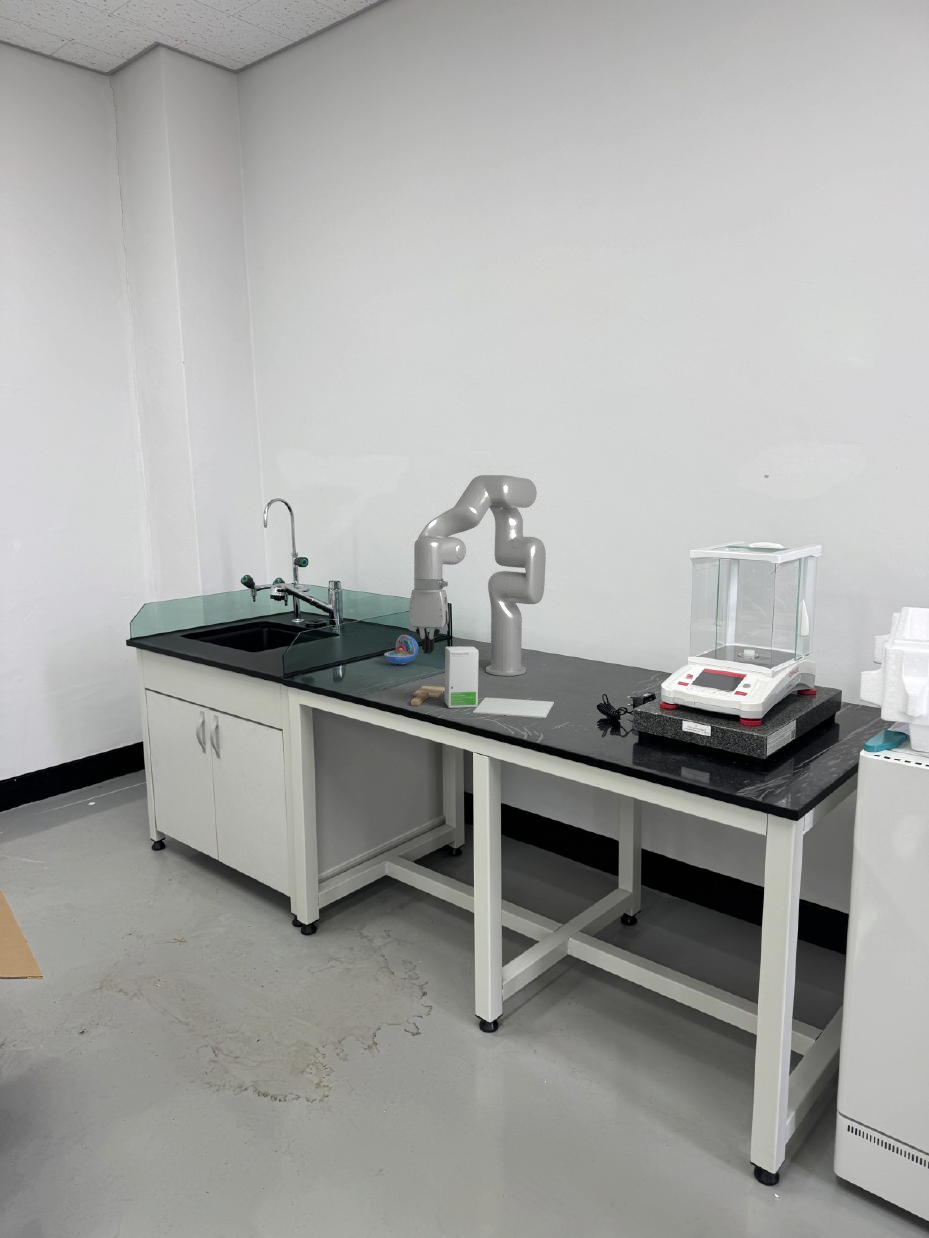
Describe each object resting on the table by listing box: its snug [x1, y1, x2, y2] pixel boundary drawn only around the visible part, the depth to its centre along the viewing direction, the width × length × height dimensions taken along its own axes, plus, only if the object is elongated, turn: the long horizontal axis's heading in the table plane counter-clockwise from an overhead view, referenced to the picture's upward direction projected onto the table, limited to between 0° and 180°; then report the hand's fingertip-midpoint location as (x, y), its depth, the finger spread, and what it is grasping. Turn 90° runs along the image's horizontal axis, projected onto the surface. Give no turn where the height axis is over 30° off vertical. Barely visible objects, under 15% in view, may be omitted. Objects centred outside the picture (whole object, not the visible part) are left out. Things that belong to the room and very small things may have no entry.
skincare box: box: [444, 646, 480, 709], centre depth 233 cm, size 8×7×16 cm
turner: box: [410, 685, 445, 706], centre depth 243 cm, size 20×7×1 cm, turn 166°
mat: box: [472, 697, 555, 719], centre depth 231 cm, size 15×19×1 cm
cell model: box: [383, 634, 420, 665], centre depth 282 cm, size 10×12×10 cm
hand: (428, 652), depth 234 cm, fingers closed
